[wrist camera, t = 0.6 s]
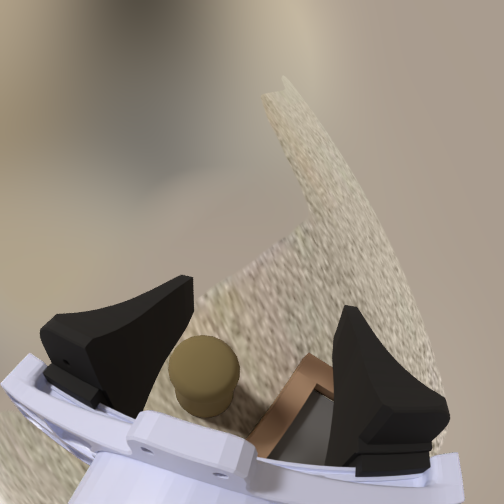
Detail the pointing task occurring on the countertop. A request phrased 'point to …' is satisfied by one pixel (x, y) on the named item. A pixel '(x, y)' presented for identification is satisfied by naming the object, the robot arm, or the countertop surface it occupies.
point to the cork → (204, 375)
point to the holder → (298, 417)
